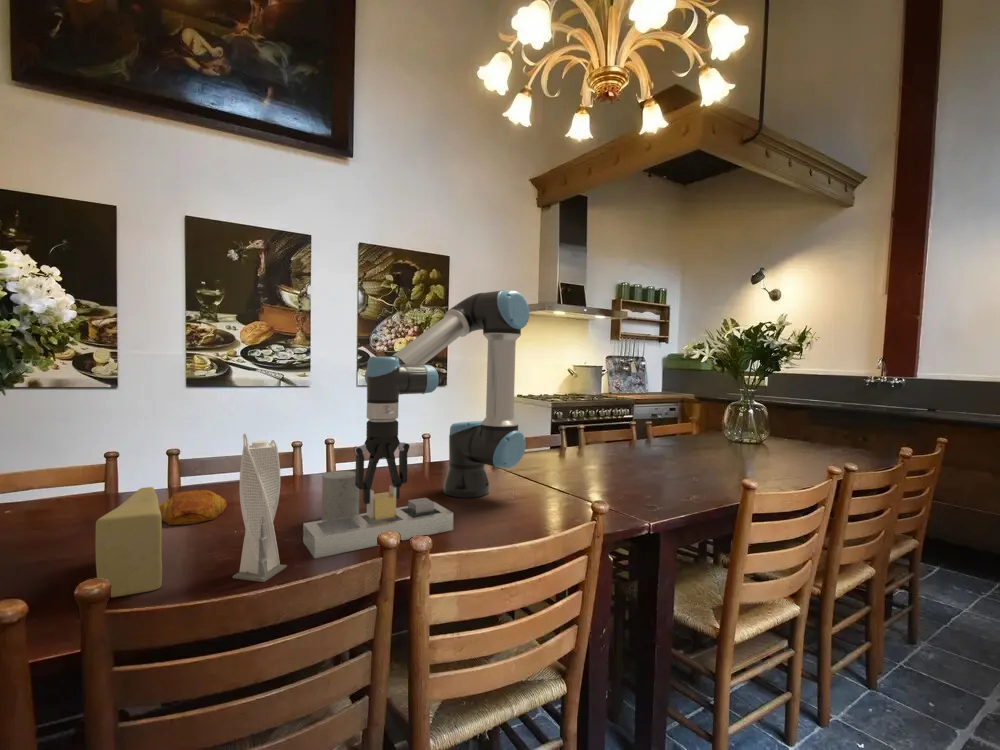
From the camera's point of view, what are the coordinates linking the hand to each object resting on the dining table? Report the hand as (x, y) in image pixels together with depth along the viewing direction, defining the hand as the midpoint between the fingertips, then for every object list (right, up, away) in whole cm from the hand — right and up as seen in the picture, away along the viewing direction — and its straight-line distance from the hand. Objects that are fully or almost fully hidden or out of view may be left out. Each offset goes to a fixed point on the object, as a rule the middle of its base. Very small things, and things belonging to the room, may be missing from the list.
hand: (381, 514), depth 120 cm
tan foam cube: (0, 0, 0) cm, 0 cm away
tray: (0, -5, 0) cm, 5 cm away
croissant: (-53, -4, +11) cm, 55 cm away
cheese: (-43, -6, -22) cm, 49 cm away
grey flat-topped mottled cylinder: (-14, -5, +12) cm, 19 cm away
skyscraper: (-20, -6, -20) cm, 29 cm away
